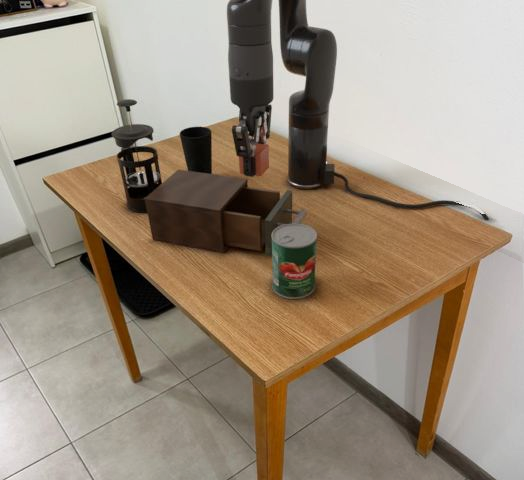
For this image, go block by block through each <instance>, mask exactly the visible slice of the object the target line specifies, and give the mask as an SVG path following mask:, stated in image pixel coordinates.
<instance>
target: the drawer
mask: <svg viewBox="0 0 524 480" xmlns="http://www.w3.org/2000/svg"><path fill="white" fill-rule="evenodd" d="M293 215H296V216H295V218H294V219H293ZM306 215H308V211H307V209H305V208H301V209H300V210H297V209H293V190H291V189H287V190H286V191H285V192H284V193H283V195H282V196H281V191H280V190H273V189H266V188H259V187H253V186H252V187H251V186H248V187H245V186H244V187H243V188H242V190H241V191H240V192H239V193H238V194H237V195H236V196H235V197H234V199H233V200H232V201H231V202H230V203H229V204H228V205H227V207H226V208H225V209H224V210H223V211H222V223H223V234H224V245H229V247H230V246H231V247H237V248H241V249H247V250H252V251H258V252H261V251H262V250H263V249H264V247H265V256H266V257H267V256H268V257H272V237H271V235H272V232H273V230H275V229H276V228H277V227H279V226H282V225H285V224H302V222H303V221H304V219H305V218H306Z"/></svg>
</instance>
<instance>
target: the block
mask: <svg viewBox="0 0 524 480" xmlns="http://www.w3.org/2000/svg"><path fill="white" fill-rule="evenodd" d="M250 147H251V144H250ZM269 153H270V146H269V144H267V143H266V144H258V143H257V144H256V149H255V168H256V174H255V176H254V177H262V176H263V175H264V174H265V173H266V171H267V170H268V169H270V154H269ZM238 166H239V167H238V168H239V169H238V170H239V174H241V175H244V172H243V157H240V156H238Z"/></svg>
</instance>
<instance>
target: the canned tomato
mask: <svg viewBox="0 0 524 480" xmlns="http://www.w3.org/2000/svg"><path fill="white" fill-rule="evenodd" d="M271 237H272V256H271V266H272V267H271V269H272V270H271V272H272V274H271V275H272V277H271V278H272V290H273V292H274V293H275V294H276V295H278V296H279V297H281V298H284V299H288V300H299V299H304V298H306V297H308V296H310V295H311V294H313V292H314V290H315V281H316V264H317V263H316V261H317V239H318V233H317V231H316V230H315V229H314V228H313V227H311V226H309V225H308V224H303V223H301V224H285V225H282V226H279V227H277V228H276V229H275V230H273V232H272V235H271Z"/></svg>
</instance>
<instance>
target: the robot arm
mask: <svg viewBox="0 0 524 480" xmlns="http://www.w3.org/2000/svg"><path fill="white" fill-rule="evenodd" d="M272 9H273V0H229V1H228V2H227V5H226V22H227V23H226V25H227V37H228V40H227V41H228V51H227V63H228V64H227V65H228V66H227V67H228V78H229V79H228V80H229V95H230V96H229V97H230V102H231V103H232V105H235V106H237V107H238V109H239V112H238V121H237V123H238V124H237V125H235V124H233V125H232V126H231V132H232V133H231V134H232V139H233V143H234V148H235V155H236V157H239V156H240V157H243V172H244V174H243V176H245V177H249V178H253V177H256V176H255V174H256V168H255V149H256V144H257V143H258V144H267V140H269V139H270V137H271V125H272V124H271V123H272V109H273V105H272V102H273V101H274V52H273V44H272ZM307 13H308V12H307V0H278V16H279V17H278V19H279V20H278V21H279V47H280V54H281V55H280V57H281V60H282V64H283V66H284V68H285V69H286V71H288V72H289V73H290V74H293V75H297V76H300V77H305V83H304V89H302V90H298V91H296V92H293V93H292V94H291V95H290V96H289V98H288V142H287V143H288V144H287V145H288V152H287V153H288V157H287V158H288V159H287V160H288V163H287V164H288V165H287V167H288V169H287V170H288V171H287V183H288V184H289V185H290V186H291V187H293V188H296V189H300V190H313V189H318V188H320V187H326V184H334V183H335V177H336V178H339V179H340V180H343V182H344V188H345V190H346V191H347V192H348V193H350V194H352V195H354V196H357V197H359V198H363V199H370V200H373V201H378V202H380V203H383V204H387V205H389V206H393V207H397V208H402V209H403V208H405V209H422V208H428V207H432V206H437V205H451V206H459V207H464V208H465V207H466V208H470V207H467V206H464V205H462V204H459V203H456V202H457V201H456V202H454V201H455V200H435V201H430V202H429V201H428V202H425V203H420V204H418V203H417V204H410V203H402V202H401V203H400V202H396V201H394V200H393V201H392V200H388V199H386V198H382V197H379V196H376V195H373V194H367V193H360V192H356V191H354V190H353V189H352V188H351V187H350V186H349V180H348V178H347V177H346V176H345V175H343V174H340V173H338V172H336V169H335V168H336V167H335V163H328V161H327V157H328V137H329V136H328V133H329V116H330V103H331V100H332V96H333V93H334V87H335V86H334V85H335V77H336V69H337V59H338V44H337V43H338V42H337V39H336V36H335V34H334V32H333V31H332V30H329V29H327V28H322V27H315V26H310V25H309V23H308V14H307ZM250 144H251V147H250ZM470 209H471V208H470ZM476 212H477V213H479V212H478V211H476ZM479 215H481V217H482V218H483V219H484V220H485V221H489V220H490V219H489V217H488V214H487V213H485V214H481V213H479Z"/></svg>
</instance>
